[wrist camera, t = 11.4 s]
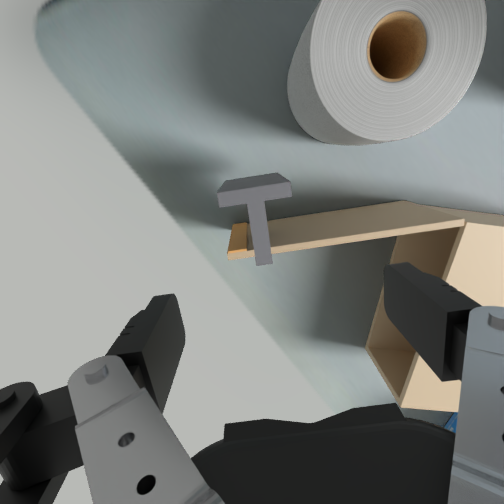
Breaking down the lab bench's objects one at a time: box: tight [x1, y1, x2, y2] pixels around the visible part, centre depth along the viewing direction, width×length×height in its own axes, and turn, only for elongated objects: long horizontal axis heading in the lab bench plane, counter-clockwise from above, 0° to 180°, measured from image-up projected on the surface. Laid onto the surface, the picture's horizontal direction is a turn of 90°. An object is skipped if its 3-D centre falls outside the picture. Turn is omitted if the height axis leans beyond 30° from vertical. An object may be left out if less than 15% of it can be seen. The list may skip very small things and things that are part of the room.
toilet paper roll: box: [287, 0, 487, 145], centre depth 25 cm, size 12×12×12 cm
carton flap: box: [217, 173, 465, 266], centre depth 27 cm, size 20×6×14 cm, turn 98°
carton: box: [365, 204, 504, 412], centre depth 34 cm, size 20×16×10 cm
